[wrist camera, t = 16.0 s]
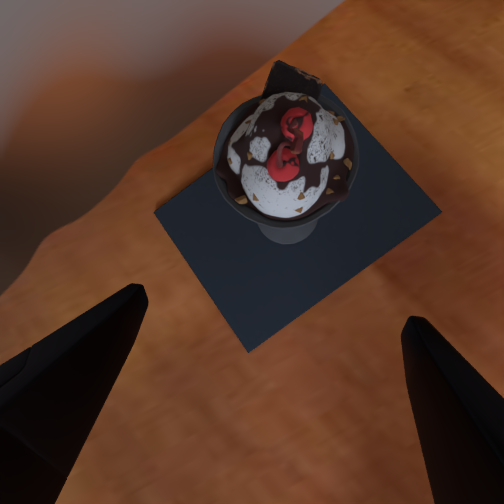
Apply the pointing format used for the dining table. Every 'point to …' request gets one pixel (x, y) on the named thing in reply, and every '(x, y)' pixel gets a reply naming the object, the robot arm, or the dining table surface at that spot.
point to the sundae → (286, 156)
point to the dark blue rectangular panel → (298, 254)
